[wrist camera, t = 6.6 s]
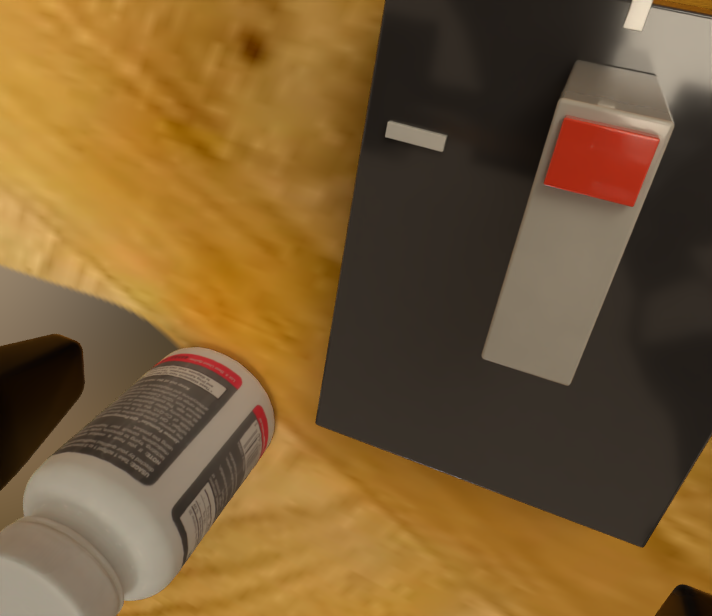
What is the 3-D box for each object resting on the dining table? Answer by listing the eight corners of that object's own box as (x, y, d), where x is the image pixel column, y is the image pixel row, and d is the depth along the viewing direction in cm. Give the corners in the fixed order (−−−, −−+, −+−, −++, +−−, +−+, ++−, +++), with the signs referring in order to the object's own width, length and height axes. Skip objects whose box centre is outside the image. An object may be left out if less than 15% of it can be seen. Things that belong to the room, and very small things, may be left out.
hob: (640, 477, 20) (644, 554, 17) (348, 373, 22) (311, 428, 20) (907, -5, 13) (981, 2, 10) (436, -89, 15) (397, -101, 12)
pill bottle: (136, 379, 26) (-79, 564, 18) (211, 318, 23) (-6, 506, 15) (223, 473, 27) (55, 691, 19) (306, 426, 24) (148, 660, 16)
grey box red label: (581, 281, 15) (569, 396, 11) (513, 262, 15) (477, 366, 11) (658, 75, 12) (678, 127, 8) (575, 58, 13) (557, 100, 9)
